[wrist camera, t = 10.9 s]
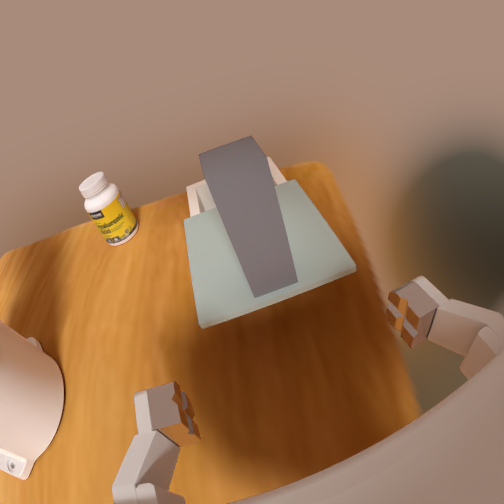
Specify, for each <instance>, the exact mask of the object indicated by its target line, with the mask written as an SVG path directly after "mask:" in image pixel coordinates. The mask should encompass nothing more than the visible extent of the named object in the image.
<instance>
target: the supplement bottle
mask: <svg viewBox="0 0 504 504" xmlns="http://www.w3.org/2000/svg"><path fill="white" fill-rule="evenodd" d="M79 191H80V192H81V194H82V196H84V198H86V200H85V204H84V205H85V209H86V211H87V213H88V214H89V215H90V217H91V219H92V220H93V222H94V223H95V225H96V226H97V228H98V229H99V231H100V232H101V234H102V235H103V236H104V238H105V239H106V241H107V242H108V243H109V244H110V245H112V246H118V245H121V244H123V243H125V242H127V241H128V240H130V239H131V238H132V237H133V236H134V235H135V234H136V232H137V230H138V227H139V225H138V222H137V220H136V218H135V216H134V214H133V213H132V211H131V209H130V208H129V206H128V204H127V203H126V201H125V199H124V197H123V196H122V194H121V192H120V190H119V189H118V187H117V186H116V185H115V184H113V183H108V180H107V178H106V176H105V174H104V173H103V172H97V173H95V174H93V175H91V176H89V177H88V178H86V179H85V180H84V181H83V182H82V183H81V185H80V186H79Z"/></svg>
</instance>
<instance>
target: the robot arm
mask: <svg viewBox="0 0 504 504" xmlns="http://www.w3.org/2000/svg"><path fill="white" fill-rule="evenodd" d="M388 299H389V301H390V303H389V305H388V306H387V312H386V314H387V317H388V320H389V322H390V324H391V325H392V326H393V328H394V329H397V330H400V331H401V337H402V338H403V340H404V341H405V342H406V343H407V344H408V346H409V347H410V348H412V347H414V346H415V345H417V344H419V343H420V342H422V341H424V340H425V339H427V340H429V341H431V342H433V343H436V344H438V345H440V346H442V347H444V348H447V349H449V350H451V351H453V352H455V353H458V354H460V355H462V356H464V357H465V358H464V360H463V362H462V364H461V366H460V370H461V371H462V372H463V374H464V375H465V376H466V377H467V379H468V381H467V382H466V383H464V384H463V385H462V386H461V387H459V388H458V389H457V390H456V391H454V392H453V393H452V394H450V395H449V396H448V397H446V398H445V399H444V400H442V401H441V402H440V403H439V404H437V405H436V406H434V407H433V408H432V409H430V410H429V411H427V412H426V413H424V414H423V415H421V416H420V417H418V418H417V419H415V420H414V421H412V422H411V423H409V424H408V425H406V426H404V427H403V428H401V429H400V430H398V431H396V432H395V433H393V434H391V435H390V436H388V437H386V438H385V439H383V440H381V441H379V442H378V443H376V444H374V445H372V446H370V447H369V448H367V449H365V450H363V451H361V452H359V453H357V454H355V455H353V456H351V457H349V458H347V459H345V460H343V461H341V462H339V463H337V464H335V465H333V466H331V467H328V468H326V469H324V470H322V471H319V472H317V473H315V474H312V475H310V476H308V477H305V478H303V479H300V480H298V481H295V482H293V483H290V484H287V485H285V486H282V487H279V488H276V489H273V490H271V491H268V492H265V493H261V494H258V495H255V496H252V497H249V498H245V499H242V500H238V501H235V502H231V503H227V504H504V317H503V316H502V315H501V314H500V313H497V312H494V311H491V310H488V309H484V308H481V307H477V306H474V305H471V304H467V303H464V302H461V301H458V300H454V299H450V300H448V299H447V298H446V297H445V296H444V295H443V294H442V293H441V292H440V291H439V290H438V289H437V288H436V287H435V286H434V285H432V284H431V283H430V282H429V281H428V280H427V279H426V278H425V277H423V276H419V277H417V278H415V279H414V280H412V281H410V282H407V283H406V284H404V285H402V286H400V287H398V288H397V289H395V290H393V291H391V292H390V293H389V297H388ZM63 402H64V385H63V379H62V374H61V371H60V369H59V367H58V365H57V363H56V362H55V361H54V359H53V358H51V357H50V356H48V355H47V354H45V353H44V352H43V350H42V347H41V345H40V343H39V341H38V340H36V339H35V338H33V337H29V338H27V339H25V338H24V337H23V336H21V335H20V334H18V333H17V332H15V331H14V330H13V329H11V328H10V327H9V326H7V325H6V324H4V323H3V322H2V321H0V469H1V470H3V471H5V472H7V473H9V474H11V475H13V476H15V477H17V478H19V479H22V480H25V479H27V478H28V476H29V474H30V472H31V470H32V467H33V465H34V462H35V461H36V459H37V458H38V457H39V456H40V455H41V454H42V453H43V452H44V451H45V449H46V448H47V447H48V446H49V444H50V442H51V441H52V439H53V437H54V435H55V433H56V431H57V428H58V425H59V422H60V419H61V414H62V409H63ZM134 402H135V411H136V420H137V428H138V434H137V435H135V436H134V438H133V440H132V442H131V445H130V447H129V449H128V451H127V454H126V456H125V458H124V460H123V463H122V465H121V467H120V469H119V472H118V474H117V476H116V478H115V481H114V483H113V485H112V493H113V499H114V504H186V503H185V500H184V497H182V496H181V495H179V494H176V493H173V492H171V491H168V490H169V486H170V483H171V480H172V476H173V473H174V469H175V466H176V462H177V459H178V455H179V452H180V448H179V447H183V446H186V445H190V444H193V443H196V442H199V441H201V437H200V434H199V430H198V426H197V424H196V423H195V422H194V421H193V420H192V419H193V417H194V415H195V414H194V410H193V407H192V404H191V402H190V399H189V398H188V396H187V394H186V393H185V392H183V391H180V386H179V385H178V384H177V382H176V381H174V382H171V383H168V384H164V385H161V386H157V387H154V388H150V389H146V390H143V391H139V392H136V393H135V396H134Z"/></svg>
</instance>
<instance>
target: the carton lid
mask: <svg viewBox="0 0 504 504" xmlns="http://www.w3.org/2000/svg"><path fill="white" fill-rule="evenodd" d="M199 157H200V162H201V166H202V170H203V174H204V177H205V181H206V183H207V185H208V188H209V190H210V193H211V195H212V198H213V200H214V202H215V205H216V207H215V208H213V209H210V210H207V211H205V212H202V213H200V214H197V215H194V216H192V217H189V218H187V219H184V226H185V234H186V242H187V250H188V257H189V264H190V271H191V278H192V285H193V291H194V298H195V304H196V310H197V316H198V322H199V325H200V327H201V328H202V329H204V328H207V327H210V326H213V325H216V324H219V323H222V322H225V321H228V320H230V319H233V318H236V317H239V316H242V315H245V314H247V313H250V312H253V311H256V310H258V309H261V308H264V307H267V306H269V305H272V304H275V303H277V302H280V301H283V300H285V299H288V298H291V297H293V296H296V295H298V294H301V293H304V292H306V291H309V290H311V289H314V288H316V287H319V286H321V285H324V284H326V283H329V282H331V281H334V280H336V279H339V278H341V277H344V276H346V275H349V274H351V273H353V272H356V264H355V262H354V261H353V260H352V258H351V257H350V255H349V254H348V252H347V251H346V249H345V248H344V246H343V245H342V243H341V242H340V240H339V239H338V238H337V236H336V235H335V233H334V232H333V230H332V229H331V228H330V226H329V225H328V223H327V222H326V221H325V219H324V218H323V216H322V215H321V214H320V212H319V211H318V209H317V208H316V207H315V205H314V204H313V203H312V201H311V200H310V199H309V197H308V196H307V194H306V193H305V192H304V190H303V189H302V188H301V186H300V185H299V184H298V182H297V181H296V180H295V179H293V180H290V181H287V182H284V183H281V184H279V185H276V186H274V182H273V178H272V175H271V171H270V167H269V163H268V160H267V157H266V155H265V154H264V153H263V151H262V150H261V148H260V147H259V146H258V144H257V143H256V141H255V140H254V139H253V137H252V136H249V137H246V138H243V139H240V140H237V141H234V142H231V143H228V144H226V145H223V146H220V147H217V148H215V149H212V150H209V151H207V152H204V153H202V154H199Z"/></svg>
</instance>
